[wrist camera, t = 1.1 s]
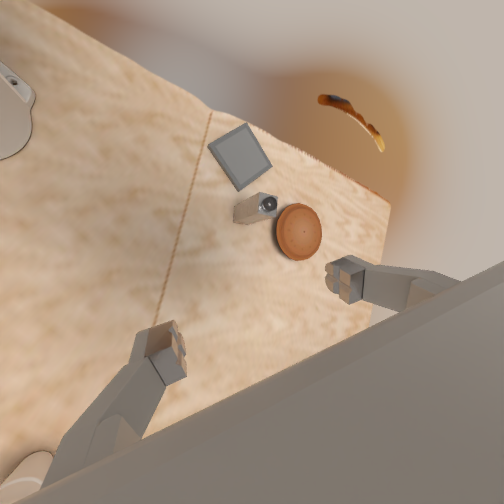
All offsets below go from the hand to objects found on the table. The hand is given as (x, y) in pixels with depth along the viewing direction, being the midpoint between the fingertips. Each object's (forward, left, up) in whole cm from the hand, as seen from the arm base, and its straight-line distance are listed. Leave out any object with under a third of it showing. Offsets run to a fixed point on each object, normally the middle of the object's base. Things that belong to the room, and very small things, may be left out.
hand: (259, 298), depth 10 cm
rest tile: (-11, +27, -36) cm, 46 cm away
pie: (+13, +28, -36) cm, 48 cm away
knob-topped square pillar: (0, +18, -36) cm, 40 cm away
